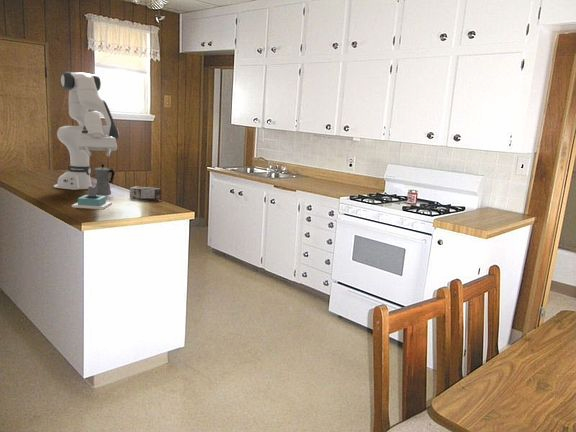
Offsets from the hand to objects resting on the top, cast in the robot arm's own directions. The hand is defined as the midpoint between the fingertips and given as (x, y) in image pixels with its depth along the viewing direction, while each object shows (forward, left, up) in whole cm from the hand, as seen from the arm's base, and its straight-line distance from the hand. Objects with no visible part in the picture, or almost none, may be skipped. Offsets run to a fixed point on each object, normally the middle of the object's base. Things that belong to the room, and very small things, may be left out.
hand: (99, 155), depth 247 cm
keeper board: (-2, -5, -27) cm, 27 cm away
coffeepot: (-8, +32, -27) cm, 42 cm away
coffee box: (+11, +26, -23) cm, 37 cm away
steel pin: (-2, -5, -25) cm, 26 cm away
